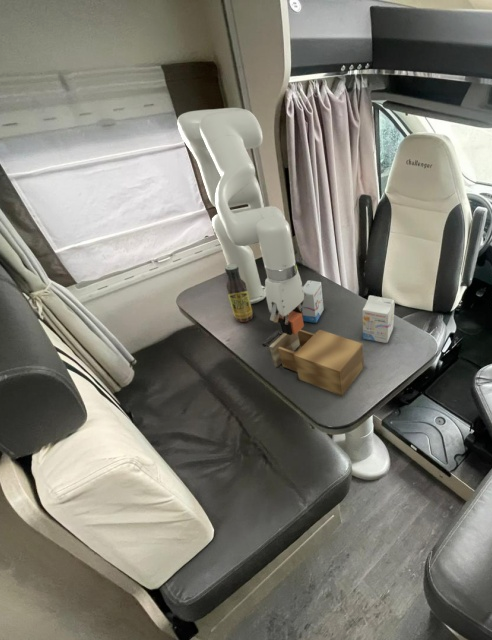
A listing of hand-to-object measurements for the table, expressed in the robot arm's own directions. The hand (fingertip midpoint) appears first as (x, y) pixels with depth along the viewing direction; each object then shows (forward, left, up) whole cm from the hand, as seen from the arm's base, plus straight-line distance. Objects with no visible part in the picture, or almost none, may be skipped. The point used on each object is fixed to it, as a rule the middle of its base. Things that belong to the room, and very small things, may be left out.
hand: (292, 327), depth 102 cm
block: (0, 0, 0) cm, 0 cm away
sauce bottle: (-31, +10, -13) cm, 35 cm away
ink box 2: (+15, +23, -13) cm, 31 cm away
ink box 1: (-10, +22, -13) cm, 27 cm away
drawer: (-1, 0, -12) cm, 12 cm away
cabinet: (+11, 0, -13) cm, 18 cm away
